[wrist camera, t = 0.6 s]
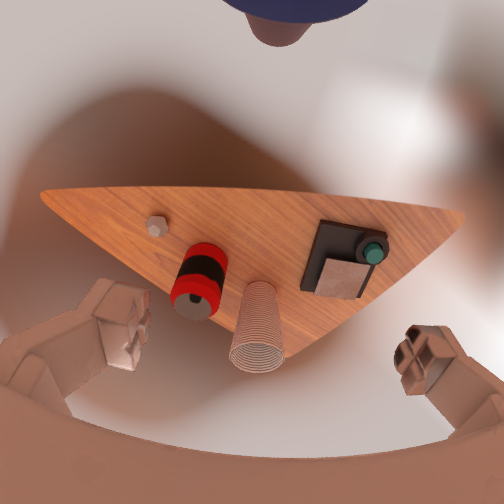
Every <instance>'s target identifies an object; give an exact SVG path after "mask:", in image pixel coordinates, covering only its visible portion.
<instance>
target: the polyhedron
mask: <svg viewBox="0 0 504 504" xmlns="http://www.w3.org/2000/svg"><path fill="white" fill-rule="evenodd" d="M146 226H147V229H148V232H149V234H150V236H154V237H164V235H165V234H166V233H167V231H168V230H169V229H168V226H167V224H166V221H165V218H164V217H161V216H150V218H149V219H148V220H147V222H146Z"/></svg>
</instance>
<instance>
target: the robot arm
mask: <svg viewBox="0 0 504 504" xmlns="http://www.w3.org/2000/svg"><path fill="white" fill-rule="evenodd" d="M149 302H150V291H149V290H148V289H147V288H143V287H139V286H134V285H130V284H126V283H122V282H117V281H112V280H108V279H104V278H100V279H98V280H97V281H96V282H95V283H94V285H93V286H92V287H91V289H90V290H89V291H88V293H87V294H86V296H85V297H84V298H83V300H82V301H81V302H80V304H79V305H78V307H77V308H76V309H75V311H73V310H68V311H66V312H64V313H62V314H59V315H57V316H55V317H53V318H50V319H48V320H46V321H44V322H41V323H39V324H37V325H35V326H33V327H30V328H28V329H26V330H24V331H22V332H19V333H17V334H15V335H13V336H11V337H8V338H6V339H4V340H3V341H2V343H1V344H0V504H504V382H503V381H501V380H500V379H499V378H498V377H496V376H495V375H494V374H493V373H491V372H490V371H489V370H487V369H486V368H485V367H483V366H482V365H481V364H479V363H478V362H477V361H475V360H474V359H473V358H472V357H468V356H467V355H466V353H465V352H464V350H463V348H462V347H461V345H460V344H459V342H458V341H457V339H456V338H455V336H454V335H453V333H452V331H451V330H450V328H448V327H447V326H424V325H412V326H411V327H410V328H409V329H408V330H407V332H406V334H405V335H406V339H405V340H404V341H403V342H401V343H400V344H399V345H398V347H397V349H396V351H395V355H394V365H395V368H396V370H397V371H398V372H399V373H400V374H401V375H402V378H401V383H402V385H403V388H404V390H405V393H406V395H424V394H426V395H425V396H426V397H427V398H428V399H429V400H430V401H431V403H432V404H433V405H434V406H435V407H436V408H437V409H438V410H439V411H440V413H441V414H442V415H443V416H444V417H445V418H446V419H447V420H448V421H449V423H450V424H451V425H452V426H453V427H454V428H455V429H456V430H455V431H454V432H453V433H452V434H451V435H450V436H449V437H448V439H447V440H443V441H439V442H435V443H431V444H426V445H421V446H417V447H412V448H407V449H400V450H394V451H388V452H381V453H373V454H365V455H354V456H342V457H326V458H269V457H252V456H239V455H230V454H221V453H213V452H206V451H199V450H193V449H187V448H182V447H176V446H171V445H166V444H162V443H157V442H153V441H149V440H144V439H140V438H137V437H133V436H129V435H126V434H122V433H118V432H115V431H112V430H109V429H105V428H102V427H99V426H96V425H94V424H90V423H87V422H85V421H82V420H79V419H77V418H74V417H73V416H72V413H71V411H70V410H69V408H68V406H67V404H66V402H65V401H64V398H66V397H67V396H68V395H70V394H71V393H72V392H74V391H75V390H76V389H78V388H79V387H80V386H81V385H83V384H84V383H86V382H87V381H88V380H89V379H91V378H92V377H94V376H95V375H96V374H97V373H99V372H100V371H102V370H103V369H104V368H106V367H107V365H108V366H113V367H117V368H121V369H125V370H129V371H135V369H136V367H137V364H138V361H139V359H140V356H141V349H140V346H142V345H144V344H145V343H146V340H147V338H148V334H149V330H150V322H151V314H150V312H149V310H148V309H147V307H148V304H149Z"/></svg>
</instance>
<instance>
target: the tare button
mask: <svg viewBox="0 0 504 504" xmlns="http://www.w3.org/2000/svg"><path fill="white" fill-rule="evenodd" d="M364 255H365V257H366V259H367V261H368V262H369V263H371V264H376V263H378V262H380V261H381V260H382V258H383V255H384V254H383V251H382V249H381V247H380V245H378V244H377V243H371V244H369V245H367V246H366V247H365V249H364Z"/></svg>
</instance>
